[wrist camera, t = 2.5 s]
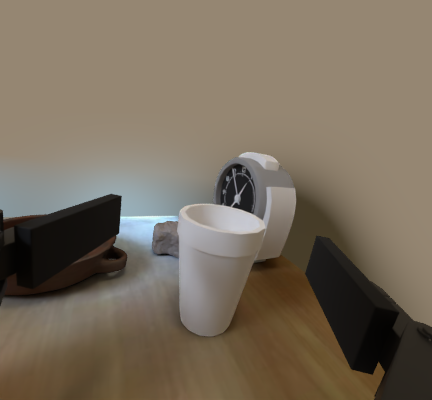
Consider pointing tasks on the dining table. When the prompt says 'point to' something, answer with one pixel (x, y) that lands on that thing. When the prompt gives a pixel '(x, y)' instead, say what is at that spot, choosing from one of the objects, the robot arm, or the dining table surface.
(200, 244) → the foam cup
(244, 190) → the alarm clock
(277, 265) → the dining table surface
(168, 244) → the stone
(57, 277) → the dish
